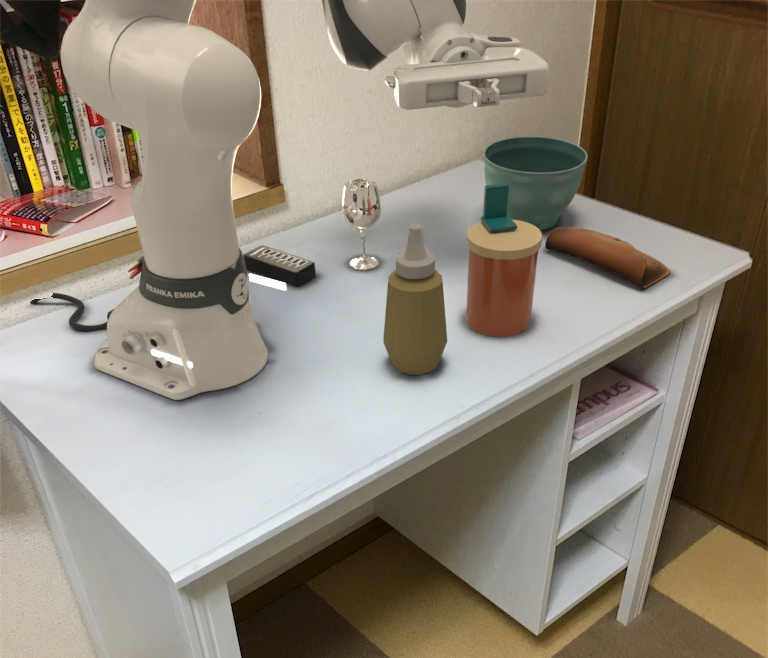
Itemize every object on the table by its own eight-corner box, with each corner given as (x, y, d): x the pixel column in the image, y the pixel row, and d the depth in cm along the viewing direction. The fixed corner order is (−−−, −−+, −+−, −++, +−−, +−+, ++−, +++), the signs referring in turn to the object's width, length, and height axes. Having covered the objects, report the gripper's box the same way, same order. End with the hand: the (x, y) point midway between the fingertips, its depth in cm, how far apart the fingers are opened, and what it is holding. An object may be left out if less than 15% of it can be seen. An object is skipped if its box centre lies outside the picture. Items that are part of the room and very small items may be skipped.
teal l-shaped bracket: (517, 228, 104) (520, 194, 101) (490, 232, 103) (492, 197, 100) (506, 216, 106) (509, 182, 103) (480, 219, 106) (482, 185, 103)
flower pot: (584, 206, 139) (594, 139, 131) (570, 246, 127) (579, 176, 120) (491, 197, 143) (495, 132, 135) (469, 235, 131) (472, 166, 124)
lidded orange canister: (540, 331, 109) (549, 253, 102) (477, 340, 108) (481, 262, 100) (517, 300, 115) (524, 225, 108) (457, 309, 114) (460, 233, 107)
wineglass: (375, 274, 122) (372, 194, 114) (340, 269, 124) (334, 190, 116) (388, 257, 126) (386, 179, 118) (353, 253, 128) (349, 175, 120)
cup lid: (552, 254, 101) (553, 245, 101) (480, 263, 100) (480, 254, 99) (525, 224, 108) (526, 215, 107) (458, 232, 107) (458, 223, 106)
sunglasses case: (675, 268, 120) (670, 238, 114) (646, 305, 119) (640, 276, 114) (577, 232, 130) (568, 203, 124) (550, 266, 129) (540, 238, 124)
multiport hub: (297, 288, 120) (296, 273, 118) (243, 269, 125) (241, 254, 123) (317, 276, 122) (315, 261, 121) (263, 258, 127) (261, 244, 126)
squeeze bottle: (441, 384, 101) (445, 244, 88) (377, 378, 102) (372, 240, 90) (451, 349, 106) (455, 214, 94) (390, 344, 108) (387, 210, 95)
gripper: (380, 50, 107) (406, 79, 97) (528, 36, 110) (568, 63, 100) (382, 102, 111) (407, 135, 101) (524, 87, 114) (561, 118, 104)
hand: (488, 99), depth 101 cm, fingers closed
